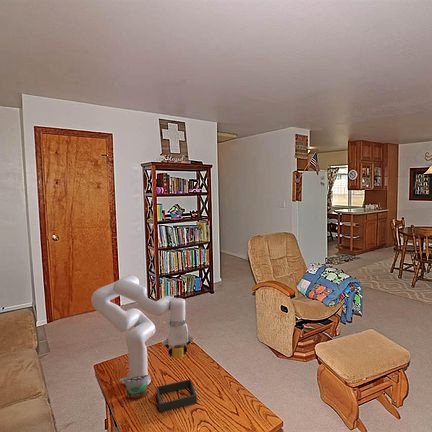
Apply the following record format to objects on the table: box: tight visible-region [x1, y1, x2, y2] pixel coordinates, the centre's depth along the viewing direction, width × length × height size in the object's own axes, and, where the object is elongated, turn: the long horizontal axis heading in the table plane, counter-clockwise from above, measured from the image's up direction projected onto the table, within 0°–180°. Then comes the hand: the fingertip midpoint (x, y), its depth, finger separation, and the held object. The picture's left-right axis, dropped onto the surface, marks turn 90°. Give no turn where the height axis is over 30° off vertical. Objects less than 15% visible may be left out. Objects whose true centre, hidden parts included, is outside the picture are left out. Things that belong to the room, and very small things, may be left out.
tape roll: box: [170, 344, 185, 360], centre depth 181 cm, size 7×7×5 cm
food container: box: [123, 373, 150, 400], centre depth 175 cm, size 12×6×10 cm, turn 118°
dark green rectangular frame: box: [156, 378, 197, 413], centre depth 175 cm, size 18×16×4 cm
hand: (177, 354), depth 182 cm, fingers closed on tape roll, 6 cm apart
